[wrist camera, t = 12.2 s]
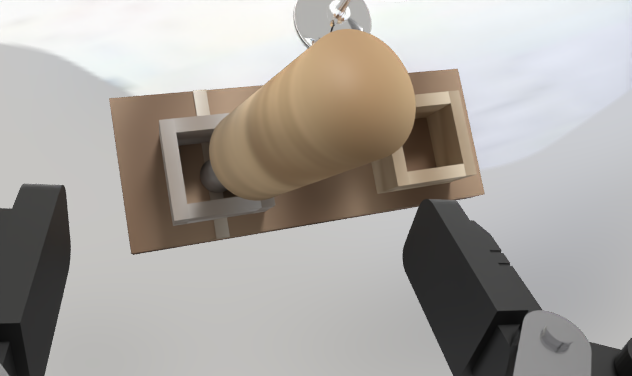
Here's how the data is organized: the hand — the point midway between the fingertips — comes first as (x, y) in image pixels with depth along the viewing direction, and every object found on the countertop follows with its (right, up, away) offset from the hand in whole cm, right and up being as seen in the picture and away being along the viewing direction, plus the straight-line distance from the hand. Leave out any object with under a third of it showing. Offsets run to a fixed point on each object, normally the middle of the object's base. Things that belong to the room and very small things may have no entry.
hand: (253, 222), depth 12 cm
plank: (+1, +2, +15) cm, 16 cm away
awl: (-3, +1, +12) cm, 13 cm away
